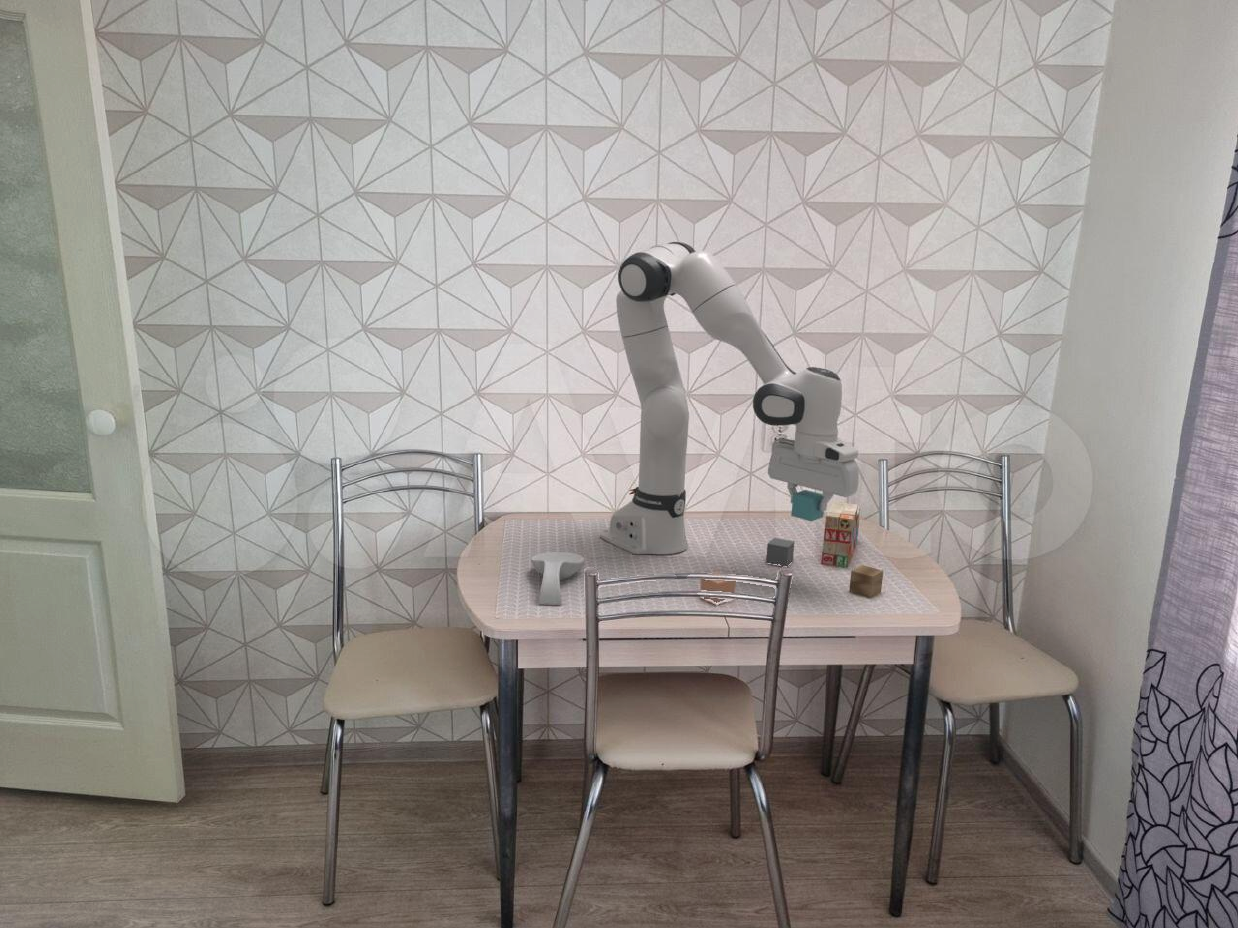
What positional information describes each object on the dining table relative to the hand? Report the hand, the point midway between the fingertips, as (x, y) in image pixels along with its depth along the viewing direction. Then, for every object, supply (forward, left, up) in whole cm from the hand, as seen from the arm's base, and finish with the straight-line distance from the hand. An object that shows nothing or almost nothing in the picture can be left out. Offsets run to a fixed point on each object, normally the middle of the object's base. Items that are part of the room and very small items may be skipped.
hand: (808, 507), depth 194 cm
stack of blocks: (-4, +25, -18) cm, 31 cm away
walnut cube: (+12, +6, -18) cm, 22 cm away
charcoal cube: (-11, +8, -18) cm, 22 cm away
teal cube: (0, 0, -2) cm, 2 cm away
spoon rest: (-37, -40, -18) cm, 57 cm away
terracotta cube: (-8, -21, -18) cm, 29 cm away
